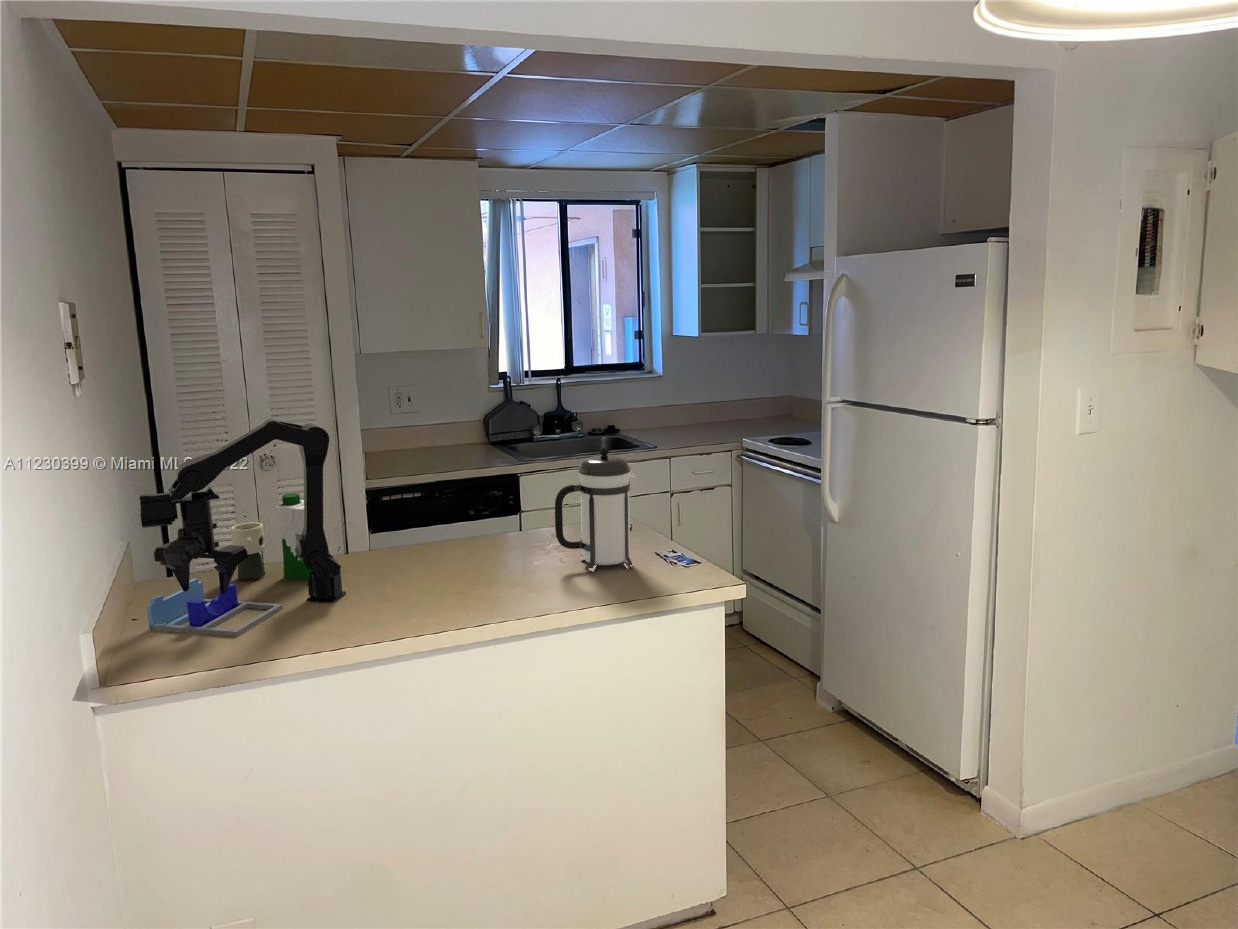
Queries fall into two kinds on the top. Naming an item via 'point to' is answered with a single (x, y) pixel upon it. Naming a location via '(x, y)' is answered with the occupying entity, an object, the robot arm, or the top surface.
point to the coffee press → (600, 510)
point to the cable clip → (212, 607)
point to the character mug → (249, 548)
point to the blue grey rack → (177, 606)
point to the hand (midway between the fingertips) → (205, 592)
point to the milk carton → (292, 535)
